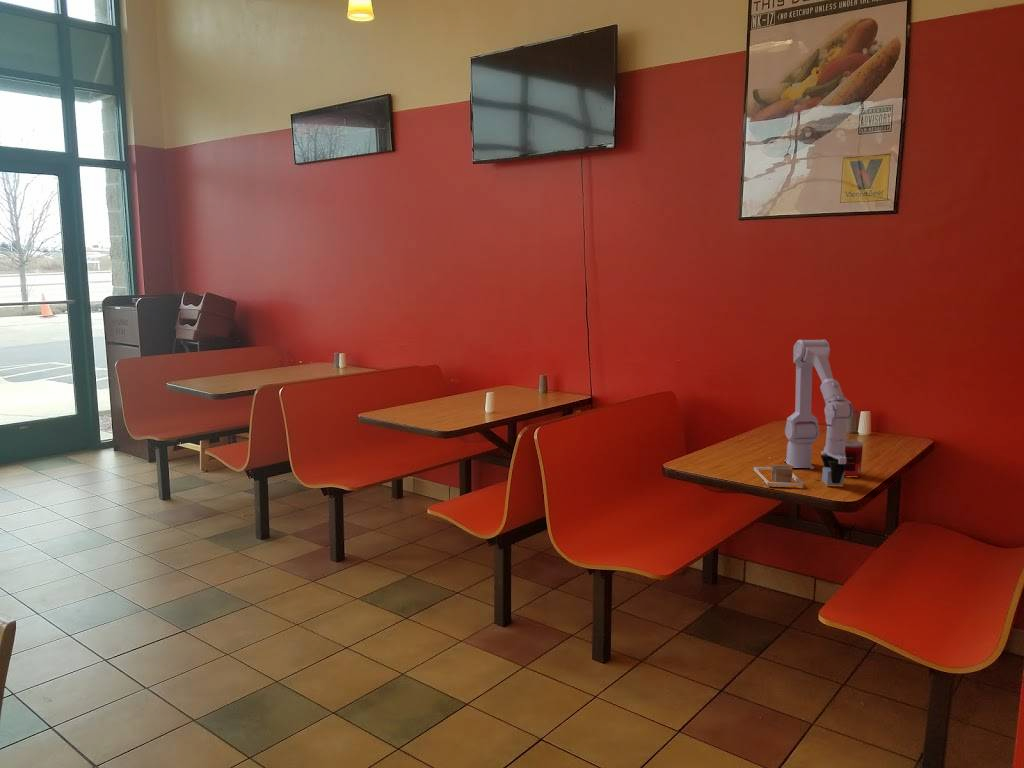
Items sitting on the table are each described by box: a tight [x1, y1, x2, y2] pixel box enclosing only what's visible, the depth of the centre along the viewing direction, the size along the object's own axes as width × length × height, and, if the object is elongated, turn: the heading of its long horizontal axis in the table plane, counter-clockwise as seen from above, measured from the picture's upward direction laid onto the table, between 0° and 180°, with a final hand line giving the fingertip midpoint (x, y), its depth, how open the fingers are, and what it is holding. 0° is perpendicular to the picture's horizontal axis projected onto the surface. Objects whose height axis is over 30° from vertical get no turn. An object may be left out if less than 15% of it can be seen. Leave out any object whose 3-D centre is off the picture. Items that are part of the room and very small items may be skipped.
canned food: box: [844, 439, 864, 477], centre depth 256 cm, size 8×8×11 cm
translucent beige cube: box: [771, 464, 794, 483], centre depth 246 cm, size 5×5×5 cm
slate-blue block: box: [821, 466, 845, 486], centre depth 245 cm, size 5×5×5 cm
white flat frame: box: [752, 466, 805, 488], centre depth 251 cm, size 18×11×2 cm, turn 176°
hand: (832, 480), depth 246 cm, fingers closed on slate-blue block, 5 cm apart
